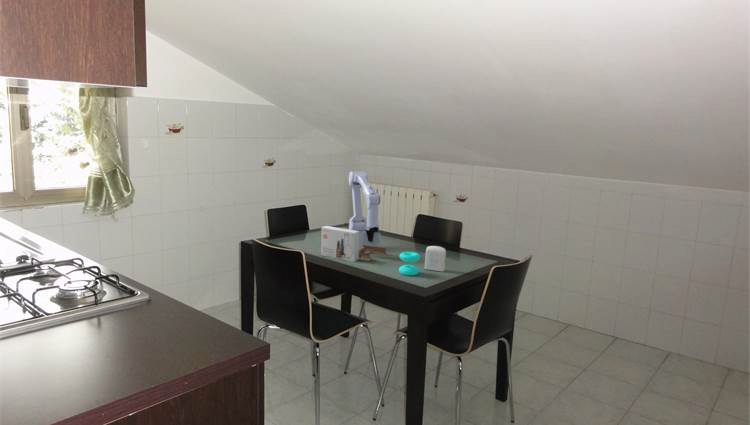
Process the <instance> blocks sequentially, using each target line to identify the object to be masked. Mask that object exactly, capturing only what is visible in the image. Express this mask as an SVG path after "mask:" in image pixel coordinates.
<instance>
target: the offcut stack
mask: <svg viewBox="0 0 750 425" xmlns="http://www.w3.org/2000/svg"><path fill="white" fill-rule="evenodd" d="M360 260H362V261H371V260H372V255H371V253H370V251H365V252H362V253H361V255H360Z"/></svg>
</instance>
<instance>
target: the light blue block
mask: <svg viewBox="0 0 750 425" xmlns="http://www.w3.org/2000/svg"><path fill="white" fill-rule="evenodd" d="M381 234H382V233H381V232H377V233H376V232H375V233H374V236H373V241H372V242H368V237H367V233H366V231H365V232H363V245H368V246H376V247H381Z"/></svg>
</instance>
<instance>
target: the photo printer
mask: <svg viewBox="0 0 750 425" xmlns="http://www.w3.org/2000/svg"><path fill="white" fill-rule="evenodd" d="M446 257H447V251H446V248H445V247H442V246H438V245H429V246H426V249H425V257H424V258H425V259H424V269H425V270H429V271H436V272H437V271H438V272H443V273H444V272H445V270H446Z"/></svg>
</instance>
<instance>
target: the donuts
mask: <svg viewBox="0 0 750 425" xmlns="http://www.w3.org/2000/svg"><path fill="white" fill-rule="evenodd" d="M420 258H421V256H420V254H419V253H418V252H414V251H402V252H401V253H400V254H399V259H400V260H401V261H403V262H405V263H416V262H419V260H420ZM398 272H399V274H401V275H403V276H407V277H408V276H417V275H419V273H420V269H419V268H418V267H417V266H416V265H412V264H403V265H401V266H400V267H399V268H398Z"/></svg>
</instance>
